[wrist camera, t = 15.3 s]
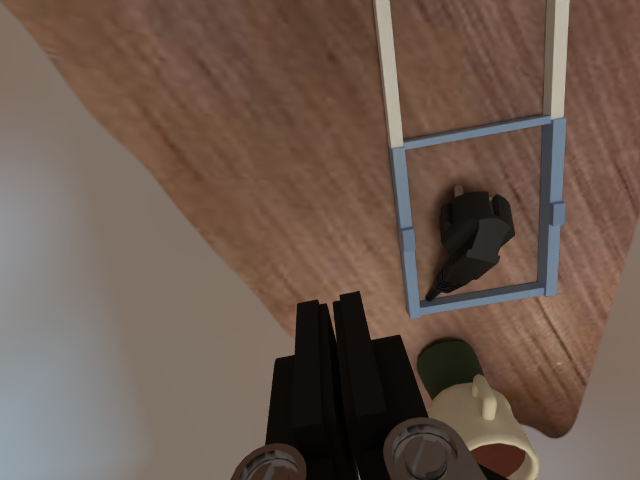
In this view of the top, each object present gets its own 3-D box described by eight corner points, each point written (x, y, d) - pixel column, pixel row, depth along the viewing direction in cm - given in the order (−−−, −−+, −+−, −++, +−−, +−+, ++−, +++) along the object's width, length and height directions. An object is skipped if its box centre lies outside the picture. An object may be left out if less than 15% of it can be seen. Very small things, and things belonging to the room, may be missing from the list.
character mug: (473, 398, 45) (527, 518, 33) (409, 400, 45) (440, 519, 33) (485, 316, 41) (554, 419, 29) (415, 317, 41) (453, 420, 29)
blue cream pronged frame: (366, -57, 29) (370, -67, 27) (564, -97, 28) (584, -111, 26) (406, 310, 40) (412, 322, 38) (547, 287, 40) (560, 298, 38)
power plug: (401, 300, 39) (464, 235, 29) (402, 236, 43) (457, 160, 33) (455, 311, 40) (535, 251, 30) (451, 247, 44) (520, 175, 34)
